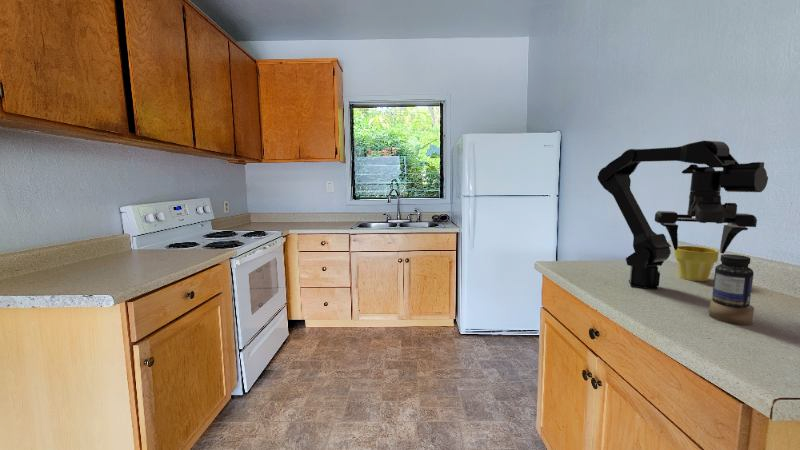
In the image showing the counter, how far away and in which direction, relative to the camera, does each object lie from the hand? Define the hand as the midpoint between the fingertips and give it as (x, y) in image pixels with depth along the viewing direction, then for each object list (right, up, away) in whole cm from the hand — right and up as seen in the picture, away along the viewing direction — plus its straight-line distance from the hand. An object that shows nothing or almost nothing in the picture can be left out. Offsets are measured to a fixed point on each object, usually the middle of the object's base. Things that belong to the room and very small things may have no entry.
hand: (698, 251), depth 86 cm
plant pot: (+16, -11, +20) cm, 28 cm away
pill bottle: (-3, -11, -11) cm, 16 cm away
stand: (-2, -15, -11) cm, 18 cm away
